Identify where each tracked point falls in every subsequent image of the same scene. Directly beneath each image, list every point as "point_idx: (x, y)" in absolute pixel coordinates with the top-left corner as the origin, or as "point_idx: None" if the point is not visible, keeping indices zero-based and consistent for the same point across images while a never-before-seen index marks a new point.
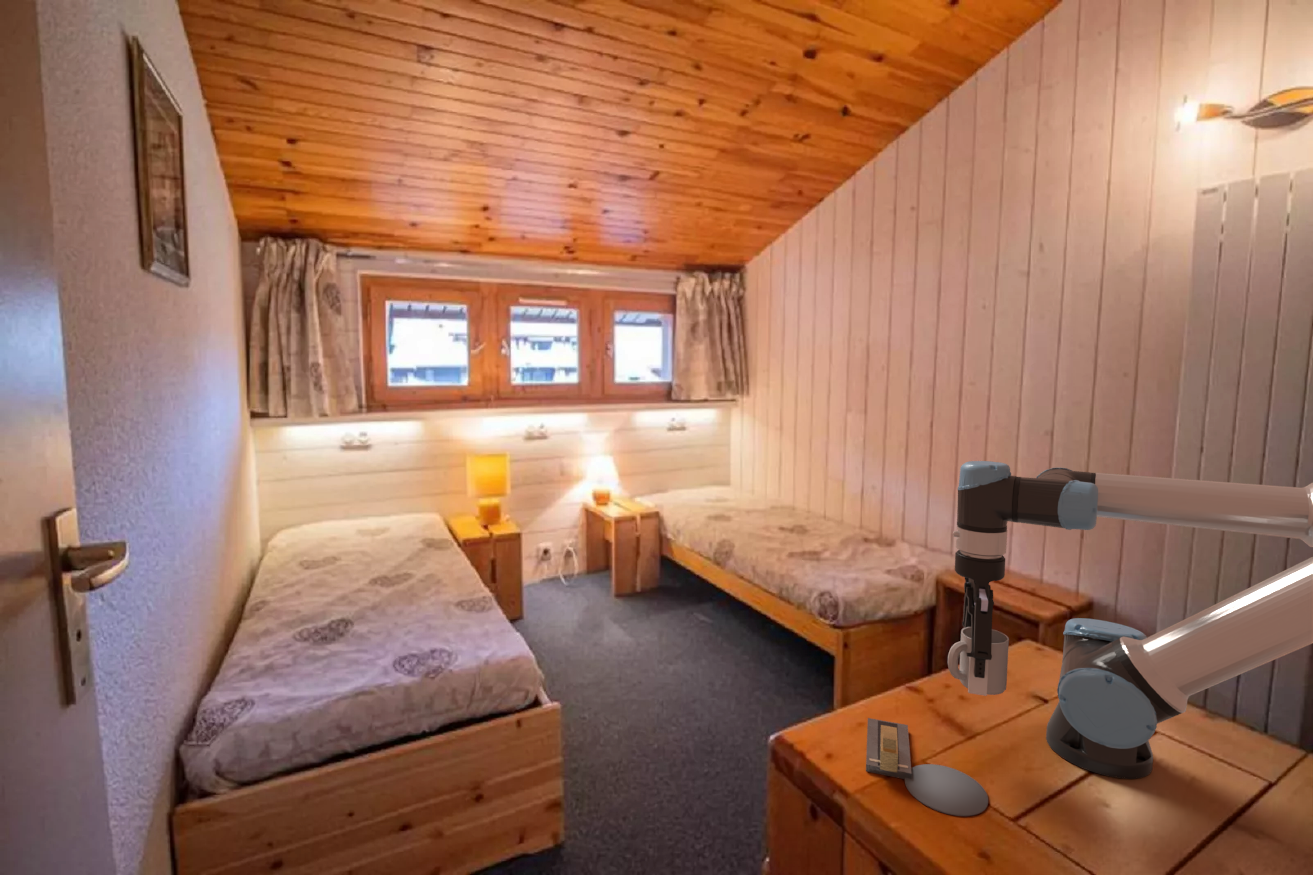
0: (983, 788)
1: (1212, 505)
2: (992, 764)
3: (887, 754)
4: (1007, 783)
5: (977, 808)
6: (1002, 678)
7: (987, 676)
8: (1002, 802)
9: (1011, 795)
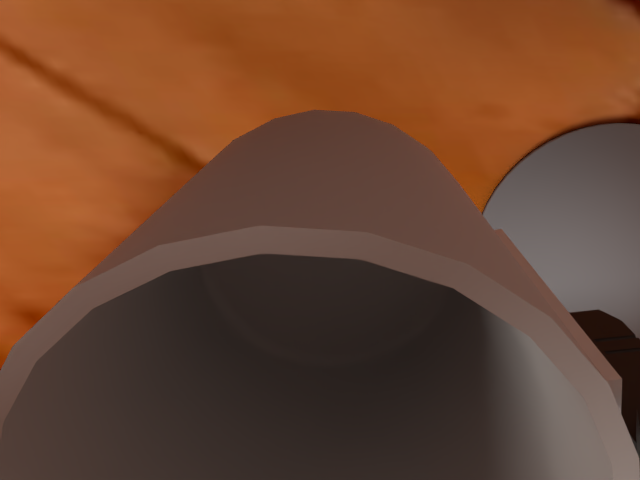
0: (560, 138)
1: None
2: (376, 108)
3: None
4: (479, 58)
5: None
6: (432, 161)
7: (544, 286)
8: (604, 77)
9: (550, 47)
